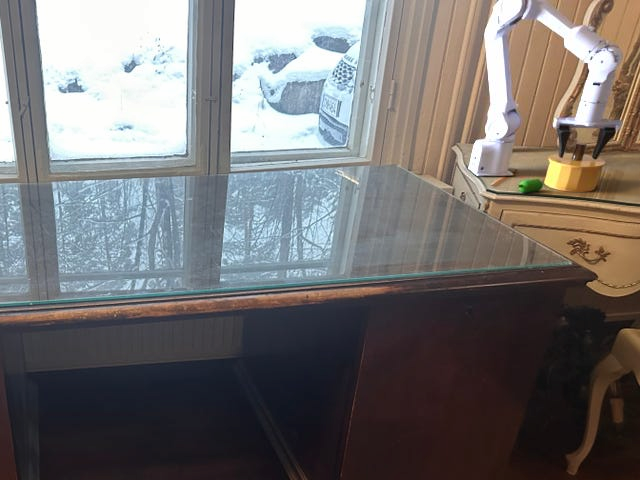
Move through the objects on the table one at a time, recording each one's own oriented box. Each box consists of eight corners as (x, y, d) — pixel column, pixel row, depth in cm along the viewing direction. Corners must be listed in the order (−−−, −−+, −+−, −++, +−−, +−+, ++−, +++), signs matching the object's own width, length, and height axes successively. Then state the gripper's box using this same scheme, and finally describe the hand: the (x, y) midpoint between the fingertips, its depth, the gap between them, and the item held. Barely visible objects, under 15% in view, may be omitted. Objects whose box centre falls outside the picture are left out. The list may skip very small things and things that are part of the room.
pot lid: (561, 171, 166) (567, 150, 164) (539, 157, 177) (544, 137, 175) (614, 170, 166) (621, 149, 163) (588, 156, 177) (594, 136, 174)
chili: (520, 195, 168) (523, 183, 167) (511, 192, 171) (514, 180, 169) (544, 191, 170) (548, 179, 169) (535, 188, 173) (538, 176, 171)
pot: (556, 192, 170) (563, 168, 167) (536, 178, 180) (542, 155, 176) (604, 191, 169) (611, 167, 166) (581, 178, 179) (588, 155, 176)
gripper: (563, 103, 162) (548, 160, 169) (632, 105, 158) (613, 163, 165) (558, 97, 168) (543, 152, 175) (625, 99, 164) (607, 155, 171)
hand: (577, 157), depth 171 cm, fingers open, 7 cm apart
